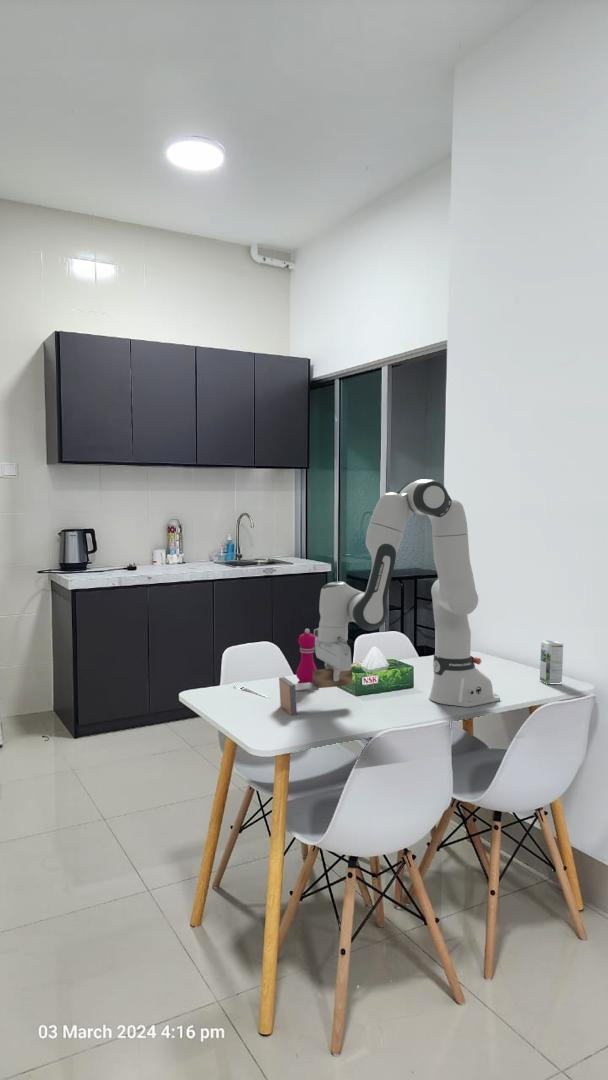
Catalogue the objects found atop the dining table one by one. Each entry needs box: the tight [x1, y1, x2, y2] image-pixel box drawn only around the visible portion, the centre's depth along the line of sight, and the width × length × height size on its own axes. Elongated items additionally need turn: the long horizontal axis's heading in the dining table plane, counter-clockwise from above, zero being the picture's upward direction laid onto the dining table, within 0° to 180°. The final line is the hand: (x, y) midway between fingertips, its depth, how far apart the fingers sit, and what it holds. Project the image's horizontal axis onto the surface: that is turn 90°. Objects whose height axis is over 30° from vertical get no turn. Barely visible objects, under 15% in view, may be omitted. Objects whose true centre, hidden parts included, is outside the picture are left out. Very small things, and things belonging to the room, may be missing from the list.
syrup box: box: [539, 639, 564, 684], centre depth 255 cm, size 6×6×14 cm
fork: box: [231, 680, 268, 698], centre depth 242 cm, size 3×20×2 cm, turn 40°
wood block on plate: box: [294, 667, 353, 693], centre depth 225 cm, size 20×7×5 cm, turn 111°
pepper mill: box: [296, 628, 318, 684], centre depth 248 cm, size 7×7×20 cm
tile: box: [278, 676, 298, 716], centre depth 221 cm, size 2×10×9 cm, turn 21°
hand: (332, 678), depth 226 cm, fingers closed on wood block on plate, 3 cm apart
